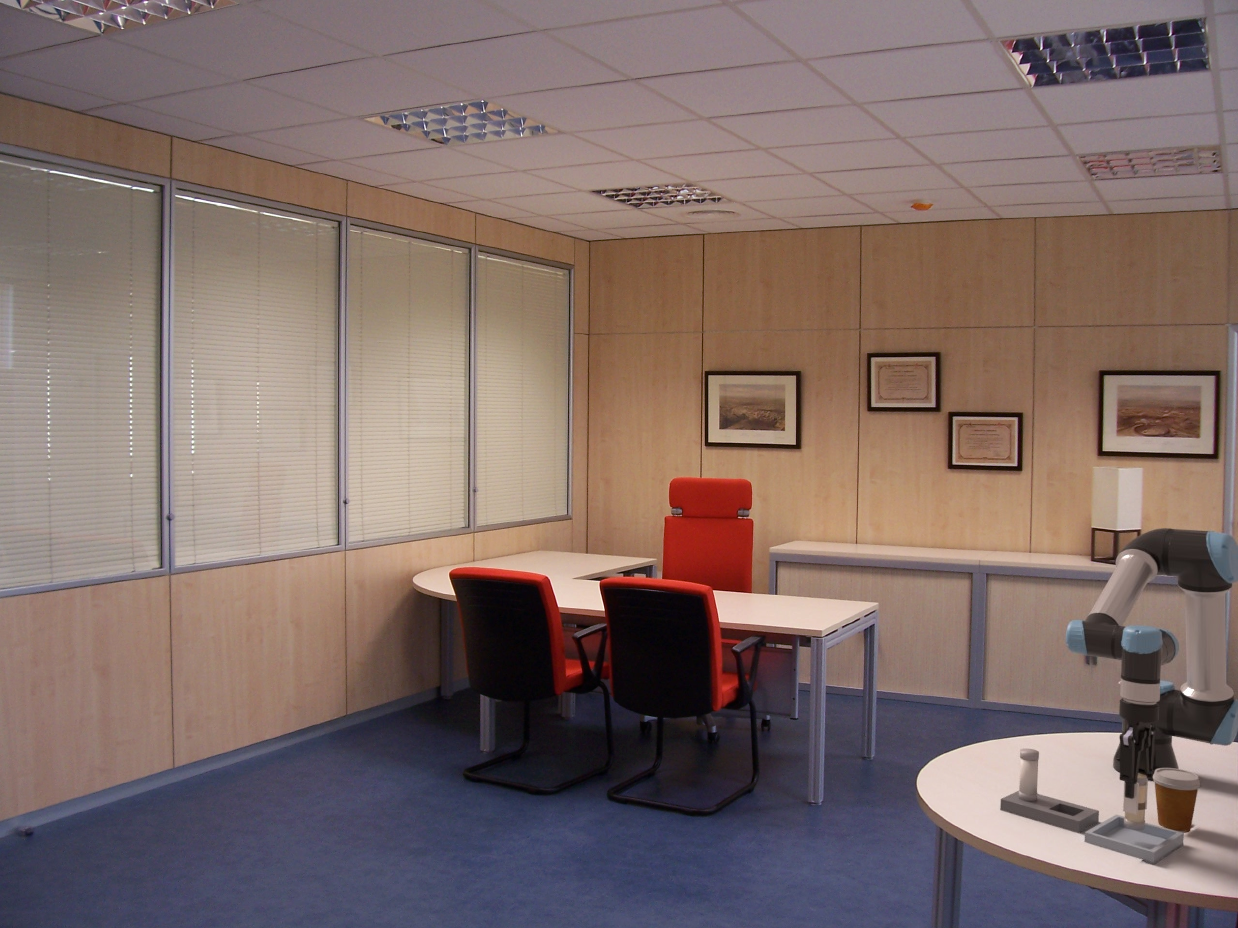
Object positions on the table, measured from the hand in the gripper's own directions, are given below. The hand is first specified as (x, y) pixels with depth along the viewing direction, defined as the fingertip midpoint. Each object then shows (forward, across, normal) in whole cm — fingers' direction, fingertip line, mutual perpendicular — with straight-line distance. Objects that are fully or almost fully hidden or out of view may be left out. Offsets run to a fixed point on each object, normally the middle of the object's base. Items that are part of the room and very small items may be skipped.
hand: (1135, 809), depth 228 cm
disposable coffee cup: (+8, -17, +2) cm, 19 cm away
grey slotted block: (+7, -1, -19) cm, 20 cm away
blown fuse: (+4, 0, 0) cm, 4 cm away
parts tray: (+7, 0, 0) cm, 7 cm away
